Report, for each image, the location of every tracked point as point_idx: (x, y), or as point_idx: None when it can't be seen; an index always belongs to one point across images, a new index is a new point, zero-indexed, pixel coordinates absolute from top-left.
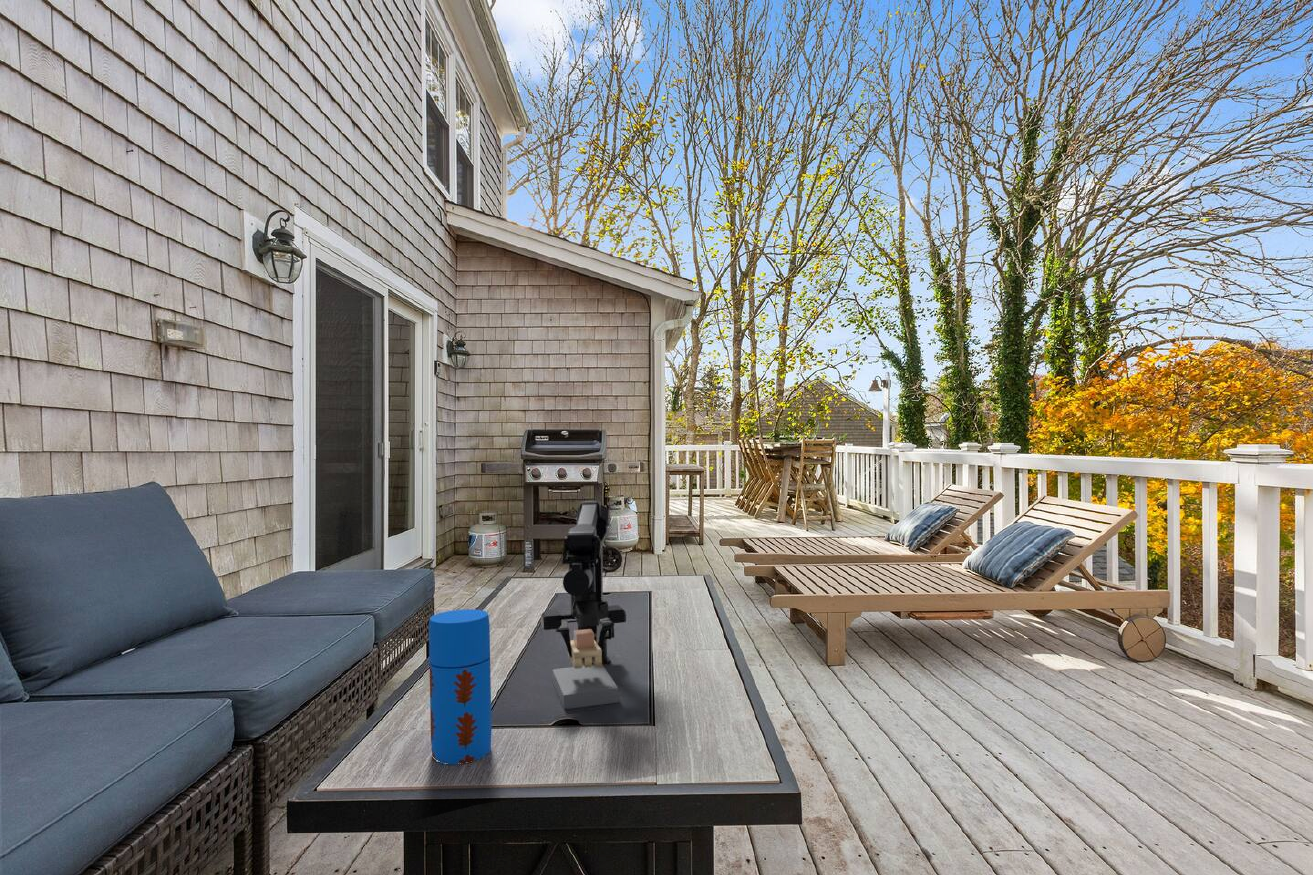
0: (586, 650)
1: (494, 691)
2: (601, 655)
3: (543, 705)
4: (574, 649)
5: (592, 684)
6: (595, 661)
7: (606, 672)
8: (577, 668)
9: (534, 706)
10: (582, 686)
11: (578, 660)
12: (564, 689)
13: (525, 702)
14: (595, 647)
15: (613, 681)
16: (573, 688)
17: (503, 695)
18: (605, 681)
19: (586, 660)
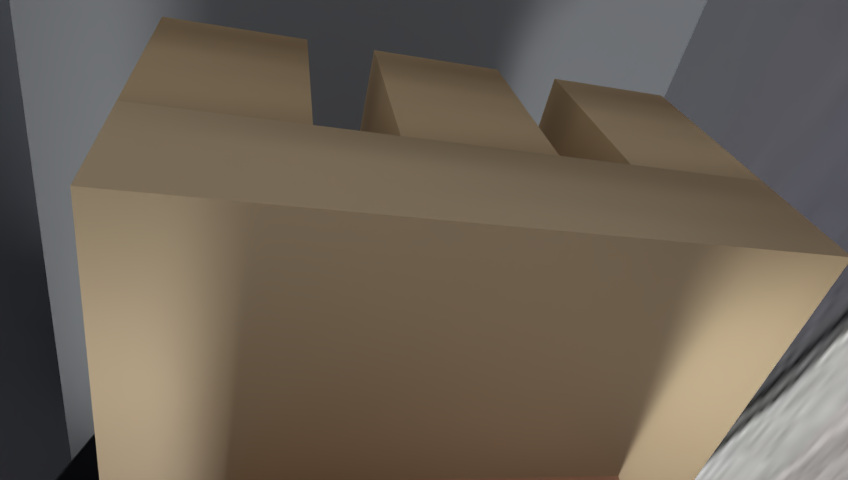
0: (522, 310)
1: (801, 391)
2: (121, 102)
3: (751, 46)
4: (690, 442)
5: (319, 39)
6: (302, 72)
7: (65, 315)
8: (622, 91)
9: (811, 61)
10: (450, 34)
11: (668, 152)
12: (653, 43)
13: (800, 168)
14: (214, 431)
15: (15, 6)
16: (563, 24)
17: (809, 327)
18: (130, 63)
19: (504, 123)
